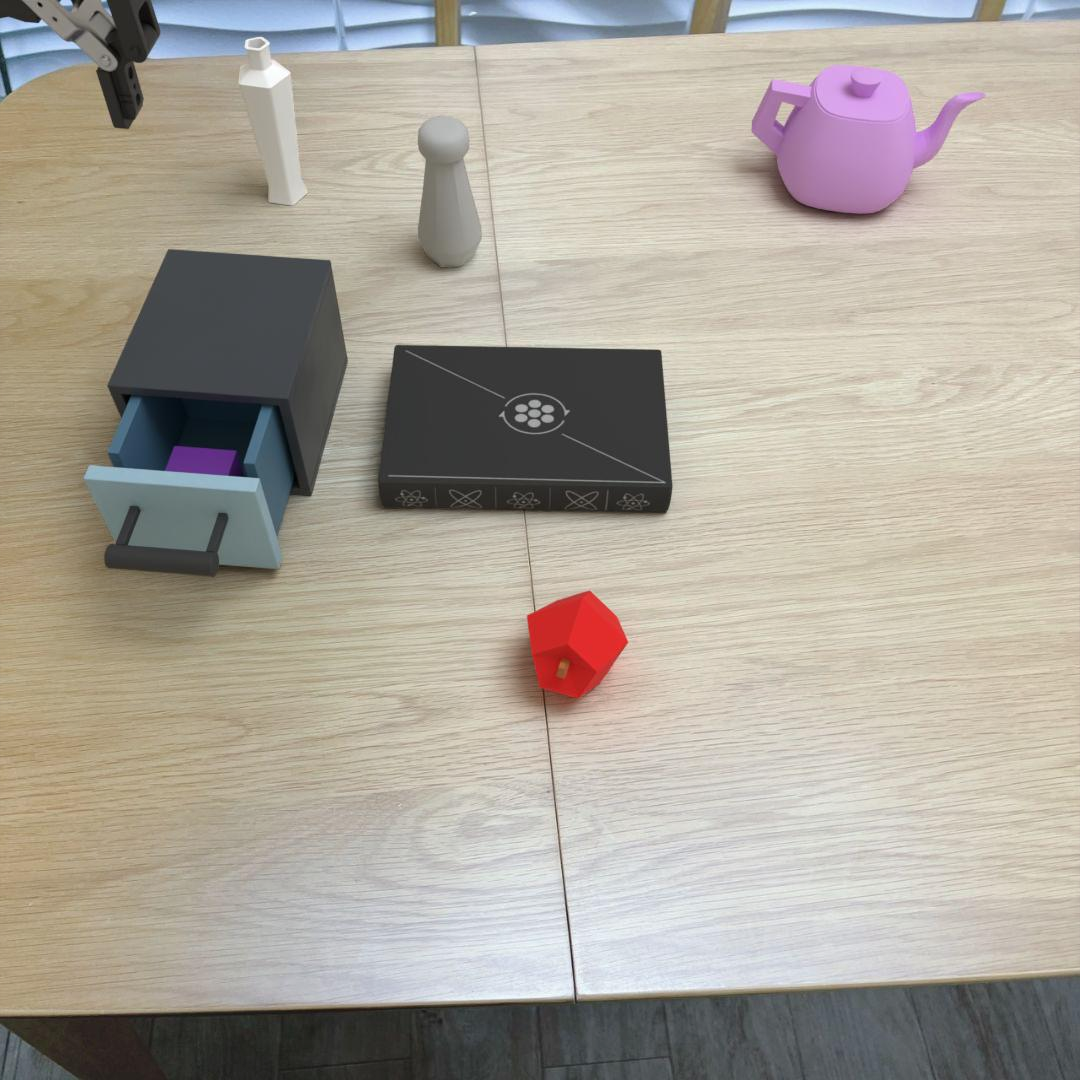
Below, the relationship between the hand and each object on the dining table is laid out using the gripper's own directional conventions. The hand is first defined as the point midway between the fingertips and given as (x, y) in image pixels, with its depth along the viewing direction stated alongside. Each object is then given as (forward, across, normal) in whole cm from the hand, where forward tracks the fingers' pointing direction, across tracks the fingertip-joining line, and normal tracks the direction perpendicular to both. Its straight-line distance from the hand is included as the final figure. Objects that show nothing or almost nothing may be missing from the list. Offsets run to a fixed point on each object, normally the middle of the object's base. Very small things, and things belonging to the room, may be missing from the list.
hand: (54, 114), depth 63 cm
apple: (+28, -33, +16) cm, 46 cm away
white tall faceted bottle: (+29, -1, -32) cm, 43 cm away
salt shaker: (+28, -18, -25) cm, 42 cm away
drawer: (+27, -6, +7) cm, 29 cm away
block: (+26, -6, +8) cm, 28 cm away
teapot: (+28, -55, -41) cm, 74 cm away
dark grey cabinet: (+28, -6, -3) cm, 29 cm away
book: (+28, -28, -3) cm, 40 cm away
